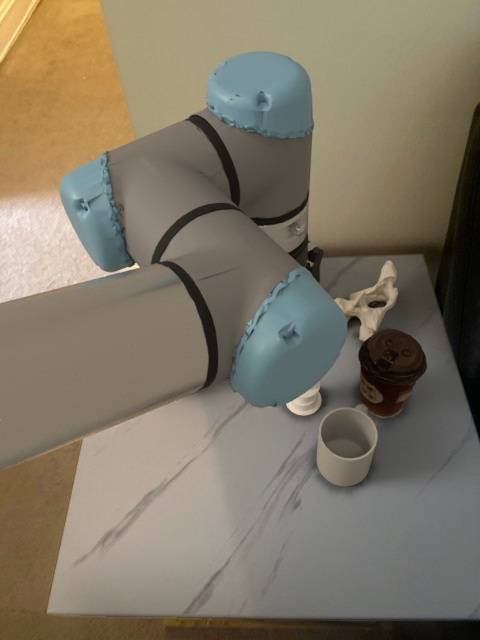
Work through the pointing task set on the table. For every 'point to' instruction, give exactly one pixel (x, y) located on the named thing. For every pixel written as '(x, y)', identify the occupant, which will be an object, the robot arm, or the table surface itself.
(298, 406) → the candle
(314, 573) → the table surface
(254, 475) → the table surface
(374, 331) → the bone
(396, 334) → the coffee cup
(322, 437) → the cup
